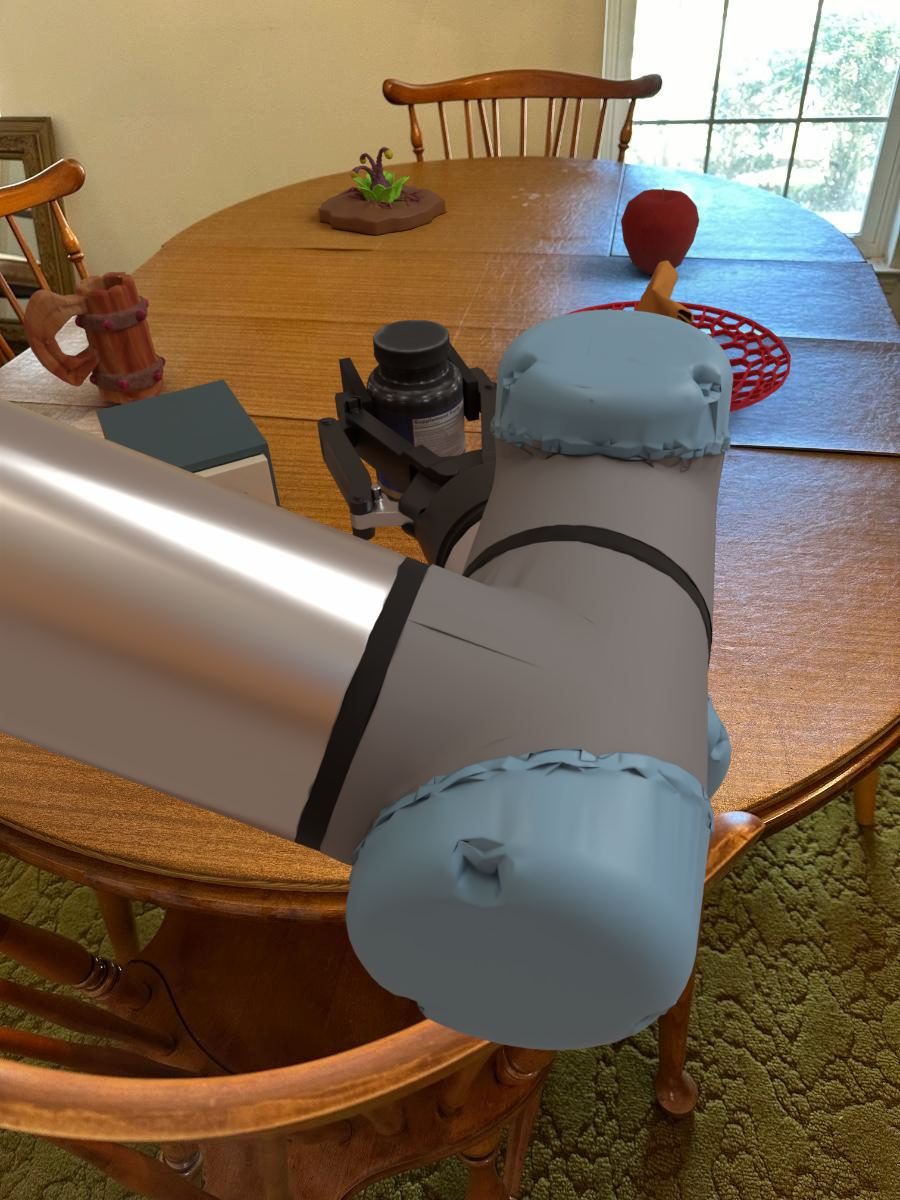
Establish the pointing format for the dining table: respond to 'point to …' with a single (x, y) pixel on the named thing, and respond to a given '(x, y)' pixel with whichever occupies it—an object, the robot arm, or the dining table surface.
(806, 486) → the dining table surface
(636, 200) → the apple
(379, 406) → the pill bottle
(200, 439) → the cabinet
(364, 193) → the plant
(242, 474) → the drawer
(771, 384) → the bowl
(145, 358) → the mug
